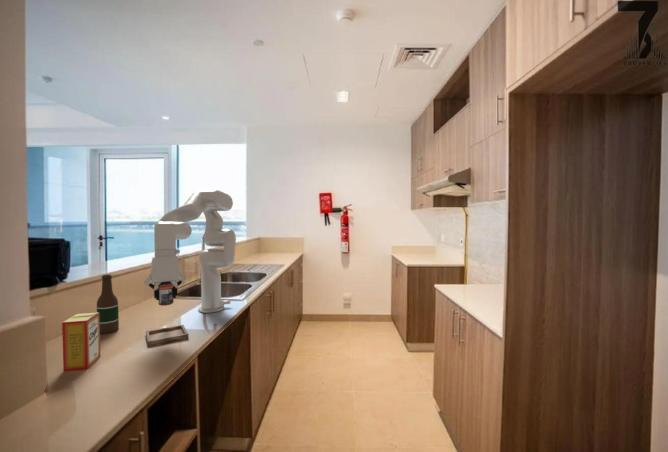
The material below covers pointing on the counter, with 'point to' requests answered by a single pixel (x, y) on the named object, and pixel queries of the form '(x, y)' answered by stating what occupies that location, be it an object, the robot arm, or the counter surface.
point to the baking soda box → (81, 341)
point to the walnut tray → (166, 335)
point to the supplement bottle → (165, 293)
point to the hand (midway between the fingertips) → (165, 298)
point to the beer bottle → (108, 307)
